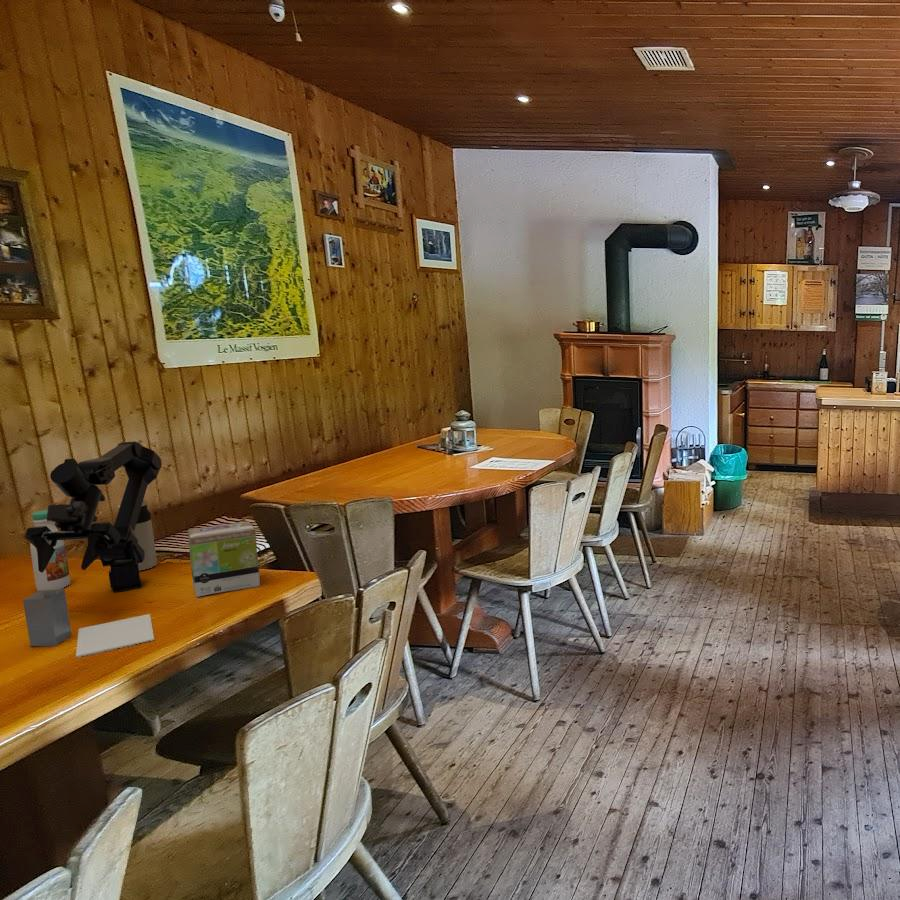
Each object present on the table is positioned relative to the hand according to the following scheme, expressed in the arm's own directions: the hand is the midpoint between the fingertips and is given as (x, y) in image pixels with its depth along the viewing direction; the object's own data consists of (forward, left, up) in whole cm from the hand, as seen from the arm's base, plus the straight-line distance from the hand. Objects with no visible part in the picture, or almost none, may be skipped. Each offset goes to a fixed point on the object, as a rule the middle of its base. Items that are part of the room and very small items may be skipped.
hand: (61, 570), depth 149 cm
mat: (-9, +11, -13) cm, 19 cm away
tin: (+3, +6, -13) cm, 15 cm away
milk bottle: (+5, -35, -13) cm, 38 cm away
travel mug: (-16, -39, -13) cm, 44 cm away
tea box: (-34, -7, -13) cm, 37 cm away
